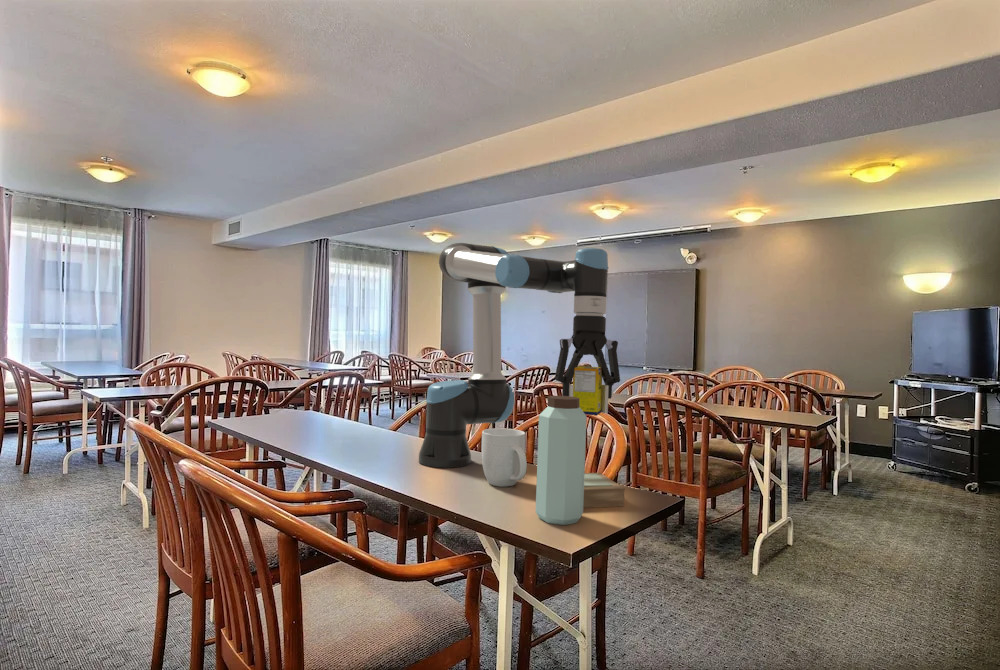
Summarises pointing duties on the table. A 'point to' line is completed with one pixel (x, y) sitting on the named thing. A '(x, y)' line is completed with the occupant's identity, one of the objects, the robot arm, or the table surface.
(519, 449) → the mug
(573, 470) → the water bottle
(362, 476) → the table surface
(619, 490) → the oak stand
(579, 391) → the supplement box
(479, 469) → the table surface
